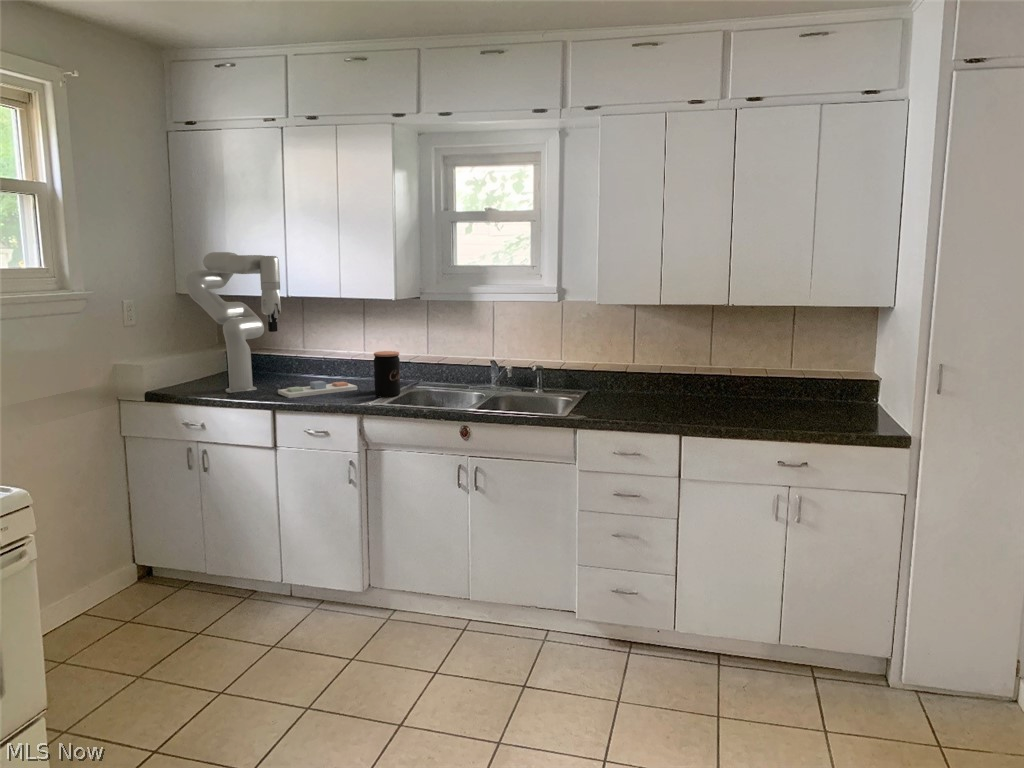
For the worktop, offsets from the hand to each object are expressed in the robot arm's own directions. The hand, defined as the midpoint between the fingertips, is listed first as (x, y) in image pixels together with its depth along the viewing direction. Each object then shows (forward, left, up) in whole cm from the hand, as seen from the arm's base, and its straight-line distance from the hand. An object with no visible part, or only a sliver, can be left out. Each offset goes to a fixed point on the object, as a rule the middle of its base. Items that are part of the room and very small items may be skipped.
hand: (273, 331), depth 312 cm
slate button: (+8, +15, -26) cm, 31 cm away
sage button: (+8, +5, -27) cm, 29 cm away
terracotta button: (+8, +25, -27) cm, 38 cm away
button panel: (+8, +15, -27) cm, 32 cm away
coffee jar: (+26, +38, -27) cm, 54 cm away
